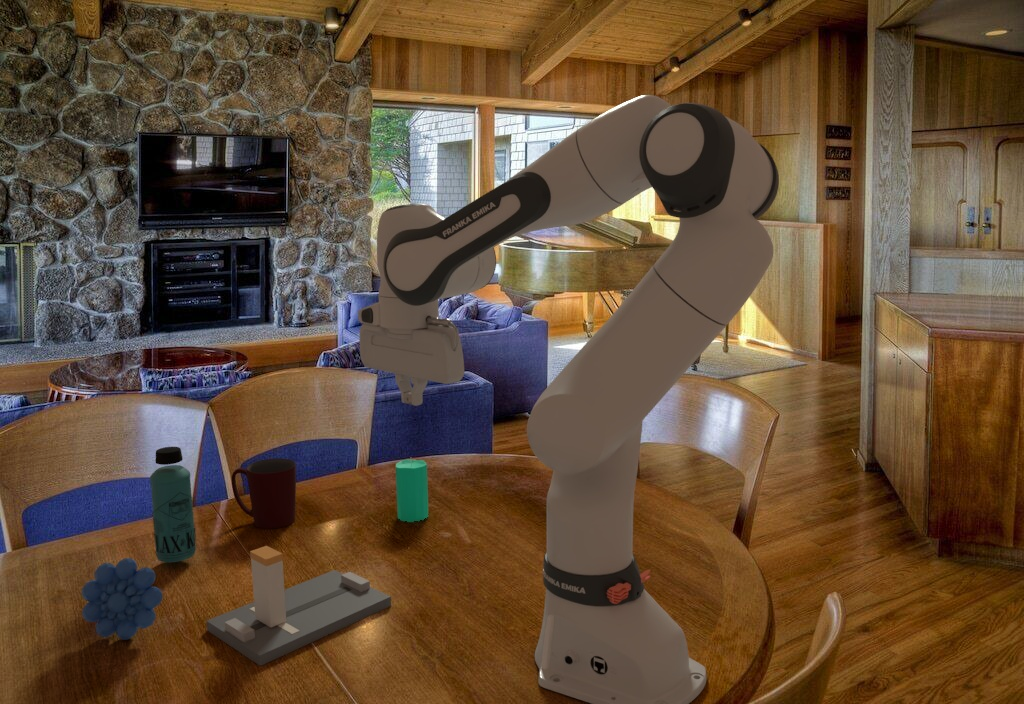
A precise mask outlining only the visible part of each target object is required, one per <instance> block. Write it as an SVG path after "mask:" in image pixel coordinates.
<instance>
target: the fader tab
mask: <svg viewBox="0 0 1024 704" xmlns="http://www.w3.org/2000/svg"><path fill="white" fill-rule="evenodd" d="M249 557H250V563H251V576H252V577H251V578H252V589H253V592H252V593H253V602H254V607H255V618H256V619H257V620H259V621H261V622H262V623H264V624H266V625H267V626H269V627H270V628H271V627H274V626H276V625H278V624H281V623H283V622H285V621H286V607H285V591H284V590H285V578H284V576H285V575H284V566H283V565H284V564H283V563H284V562H283V561H284V555H283V553H282V552H281V551H278V550H276V549H274V548H272V547H270V546H269V545H264V546H262V547H259V548H258V547H257V548H256V549H253V550H250V551H249Z"/></svg>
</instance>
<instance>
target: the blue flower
mask: <svg viewBox="0 0 1024 704" xmlns="http://www.w3.org/2000/svg"><path fill="white" fill-rule="evenodd" d="M93 576H94V579H91V580H89V581H87V582H86V583H85V584H83V585H84V586H83V587H82V588H81V593H80V594H81V595H82V599H83V600H85V601H87V603H86V604H85V605H84V607H82V612H81V615H82V618H83V620H84V621H86V622H88V623H95V628H94V629H95V632H96V633H97V636H100V637H102V638H109V637H111V636H113V635H114V634H115V633H116V637H117V638H118V639H120V640H122V641H123V640H124V641H125V640H127V641H128V640H130V639H131V638H133V637H135V635H136V634H137V632H138V629H147V628H149V627H150V626H152V625H153V624H154V623H155V621H156V615H157V614H156V612H155V610H154V608H156V607H158V606H159V605H160V604H161V603H162V601H163V592H162V590H161V589H160V588H159V587H157V586H152V585H153V584H155V581H156V573H155V571H154V570H153V569H152V568H151V567H141V568H140V569H138V564H137V562H136V560H134V559H132V557H125V558H122V559H121V560H119V562H117V564H116V565H114V564H112V563H111V562H104V563H102V564H101V565H99V566H98V567H97V568H96V570H95V571H94V575H93Z"/></svg>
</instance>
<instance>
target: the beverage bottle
mask: <svg viewBox="0 0 1024 704" xmlns="http://www.w3.org/2000/svg"><path fill="white" fill-rule="evenodd" d="M183 460H184V459H183V454H182V450H181V447H179V446H165V447H161V448H158V449H156V451H155V459H154V461H155V463H156V464H157V465H159V466H160V465H161V467H158V468H156V469H155V471H153V473H151V475H150V476H149V482H150V488H151V489H150V490H151V491H150V492H151V503H152V504H151V505H152V513H151V515H152V525H153V526H152V527H153V532H152V533H153V537H154V539H153V540H154V546H155V547H154V548H155V557H156V558H157V560H158V561H160V562H162V563H177V562H183V561H185V560H187V559H190V558H192V557H193V556H194V555H195V554H196V550H197V545H196V540H197V536H196V527H195V522H196V521H195V520H194V506H193V504H194V503H193V497H192V488H191V487H192V486H191V482H192V481H191V472H190V470H188V469H187V468H186V467H184V466H182V465H180V464H178V463H180V462H182V461H183ZM163 465H164V466H163Z"/></svg>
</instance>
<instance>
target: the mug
mask: <svg viewBox="0 0 1024 704" xmlns="http://www.w3.org/2000/svg"><path fill="white" fill-rule="evenodd" d="M296 465H297V464H296V461H294V460H292V459H290V458H289V459H288V458H280V457H279V458H267V459H261V460H257V461H255V462H251V463H250V464H248V465H246V468H243V467H239V468H236V469H235V470H234V471H233V472H232V474H231V486H232V492H233V496H234V498H235V500H236V503H237V504H238V506H239V507H240V509H241V510H242V511H243V512H244V513H245V514H246V515H248V516H249V517H251V518H253V524H254V526H255V527H258V528H260V529H269V530H270V529H278V528H283V527H287V526H289V525H291V524H293V523H294V522H295V520H296V501H297V499H296V495H297V493H296V492H297V468H296ZM237 474H243V475H244V476H246V479H247V486H248V493H249V498H250V505H251V508H249V507H247V505H246V504H245V503H244V502H243V499H241V495H240V494H239V491H238V487H237V482H236V475H237Z"/></svg>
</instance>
